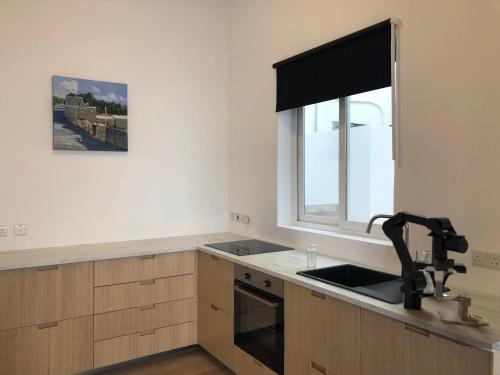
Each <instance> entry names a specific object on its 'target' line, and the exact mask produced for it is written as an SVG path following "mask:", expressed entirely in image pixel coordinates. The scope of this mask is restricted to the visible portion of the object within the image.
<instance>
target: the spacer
mask: <svg viewBox="0 0 500 375" xmlns="http://www.w3.org/2000/svg"><path fill="white" fill-rule="evenodd" d="M468 316H469V317H470V319H472V320H475V321H478V322H479V323H480V324H484V325H488V324H489V321H488V320H487V319H486V316H483V315H481V314H480V315H479V314H476V313H473V312H471V311H468Z"/></svg>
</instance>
